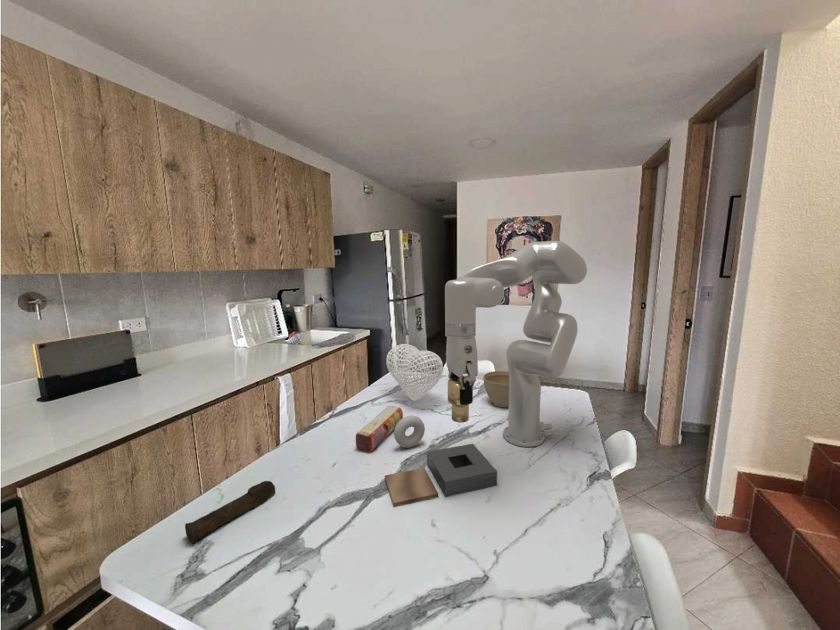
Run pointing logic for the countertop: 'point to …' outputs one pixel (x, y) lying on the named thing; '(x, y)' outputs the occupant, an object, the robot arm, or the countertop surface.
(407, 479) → the board
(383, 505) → the countertop surface
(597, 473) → the countertop surface
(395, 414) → the snack package
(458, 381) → the end cover
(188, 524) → the hand tool
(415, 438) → the donut
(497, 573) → the countertop surface
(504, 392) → the planter bowl
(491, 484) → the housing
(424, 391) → the heart
